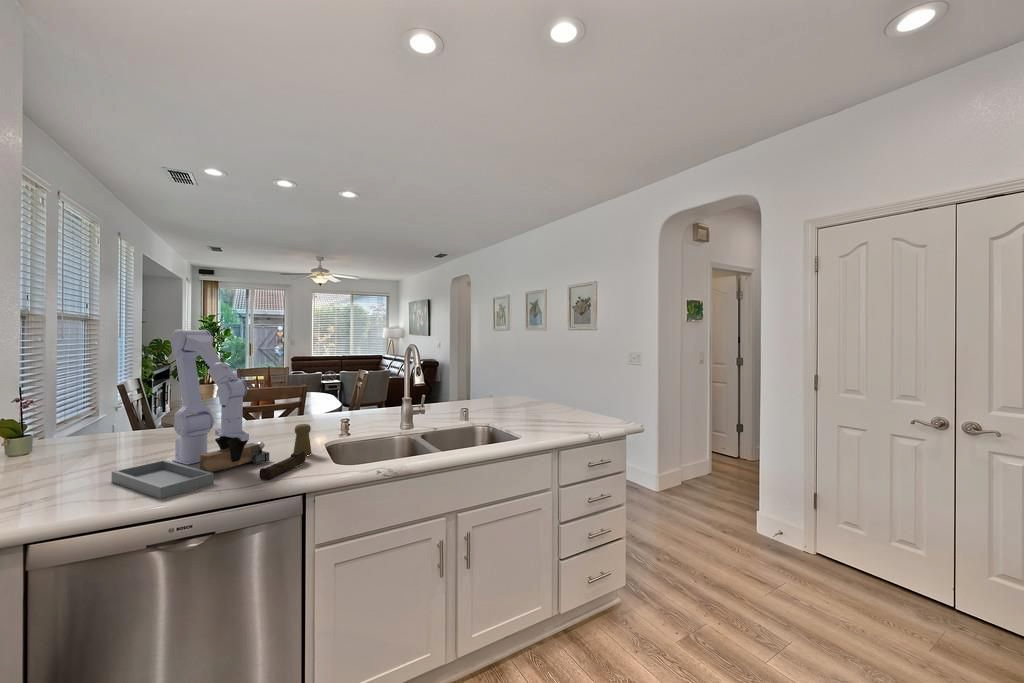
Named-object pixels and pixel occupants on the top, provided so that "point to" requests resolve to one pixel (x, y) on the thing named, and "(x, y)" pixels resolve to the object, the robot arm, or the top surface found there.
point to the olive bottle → (302, 439)
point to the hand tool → (282, 466)
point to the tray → (162, 478)
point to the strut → (226, 458)
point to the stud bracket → (261, 455)
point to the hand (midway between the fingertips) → (231, 460)
